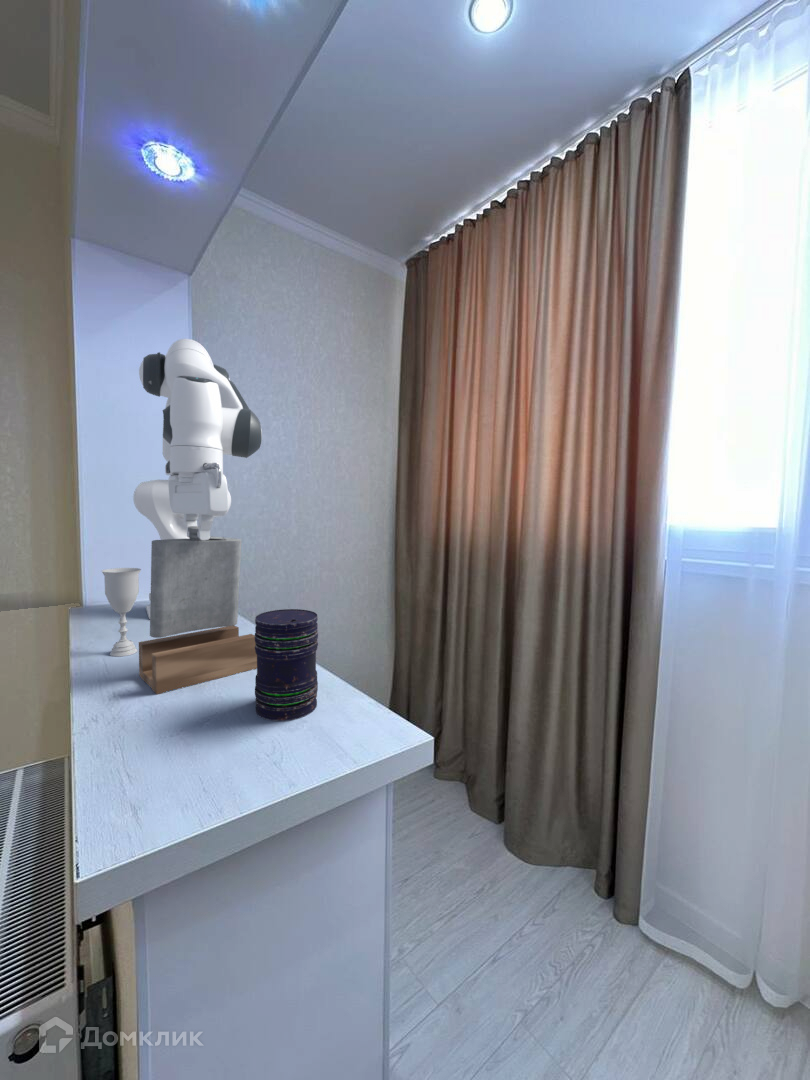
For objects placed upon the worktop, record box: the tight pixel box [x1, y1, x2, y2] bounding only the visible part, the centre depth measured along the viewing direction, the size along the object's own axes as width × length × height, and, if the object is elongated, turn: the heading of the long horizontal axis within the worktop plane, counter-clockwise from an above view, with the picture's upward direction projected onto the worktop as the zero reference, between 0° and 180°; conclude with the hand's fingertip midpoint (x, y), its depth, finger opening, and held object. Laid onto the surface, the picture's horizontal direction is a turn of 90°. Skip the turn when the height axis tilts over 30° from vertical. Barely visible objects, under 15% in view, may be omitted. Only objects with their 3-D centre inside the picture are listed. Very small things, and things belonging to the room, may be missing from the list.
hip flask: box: [149, 525, 242, 639], centre depth 83 cm, size 16×4×20 cm, turn 134°
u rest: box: [138, 625, 257, 695], centre depth 84 cm, size 11×18×6 cm, turn 135°
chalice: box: [101, 567, 142, 657], centre depth 93 cm, size 7×7×18 cm
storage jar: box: [254, 608, 319, 722], centre depth 70 cm, size 10×10×15 cm
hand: (198, 538), depth 82 cm, fingers closed on hip flask, 4 cm apart
